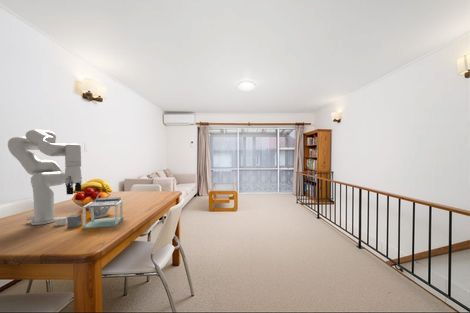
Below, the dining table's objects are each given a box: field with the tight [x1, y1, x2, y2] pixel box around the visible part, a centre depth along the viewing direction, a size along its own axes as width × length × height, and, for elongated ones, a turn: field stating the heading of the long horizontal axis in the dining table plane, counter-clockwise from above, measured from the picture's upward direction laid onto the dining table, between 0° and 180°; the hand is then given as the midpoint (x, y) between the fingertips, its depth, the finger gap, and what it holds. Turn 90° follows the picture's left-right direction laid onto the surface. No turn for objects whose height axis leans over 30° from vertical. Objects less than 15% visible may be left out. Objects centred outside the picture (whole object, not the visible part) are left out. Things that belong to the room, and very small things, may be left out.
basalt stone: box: [66, 213, 82, 228], centre depth 123 cm, size 5×5×6 cm
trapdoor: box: [87, 196, 121, 209], centre depth 130 cm, size 15×17×4 cm
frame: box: [81, 199, 124, 230], centre depth 127 cm, size 18×15×12 cm
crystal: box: [88, 195, 112, 219], centre depth 143 cm, size 10×13×15 cm
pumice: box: [54, 216, 68, 227], centre depth 126 cm, size 5×4×4 cm
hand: (74, 192), depth 123 cm, fingers open, 9 cm apart
